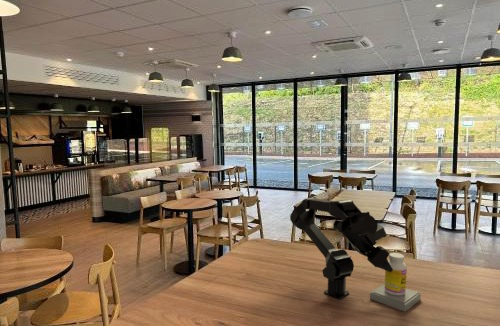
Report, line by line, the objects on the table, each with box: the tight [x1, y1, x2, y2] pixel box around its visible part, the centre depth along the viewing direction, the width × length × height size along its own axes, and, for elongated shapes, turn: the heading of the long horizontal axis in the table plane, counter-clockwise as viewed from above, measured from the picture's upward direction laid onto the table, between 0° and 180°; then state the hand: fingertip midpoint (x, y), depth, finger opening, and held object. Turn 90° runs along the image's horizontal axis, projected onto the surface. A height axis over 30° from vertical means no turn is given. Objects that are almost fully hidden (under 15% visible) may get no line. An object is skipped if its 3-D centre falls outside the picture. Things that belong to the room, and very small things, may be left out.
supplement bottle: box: [384, 252, 408, 296], centre depth 122 cm, size 7×7×13 cm
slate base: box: [369, 283, 422, 312], centre depth 122 cm, size 12×12×2 cm
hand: (385, 265), depth 122 cm, fingers open, 9 cm apart
